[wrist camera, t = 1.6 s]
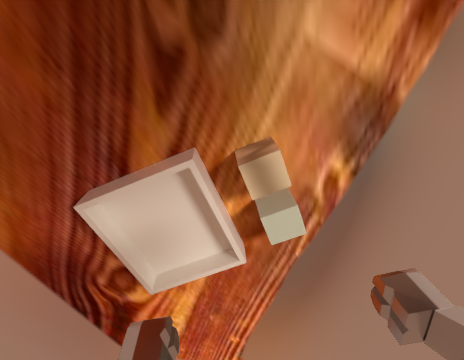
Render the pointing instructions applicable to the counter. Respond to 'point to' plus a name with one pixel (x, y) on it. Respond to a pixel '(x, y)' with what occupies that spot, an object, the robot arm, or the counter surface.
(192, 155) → the tray
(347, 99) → the counter surface
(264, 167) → the maple block
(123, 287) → the counter surface
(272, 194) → the sage block
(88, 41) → the counter surface
